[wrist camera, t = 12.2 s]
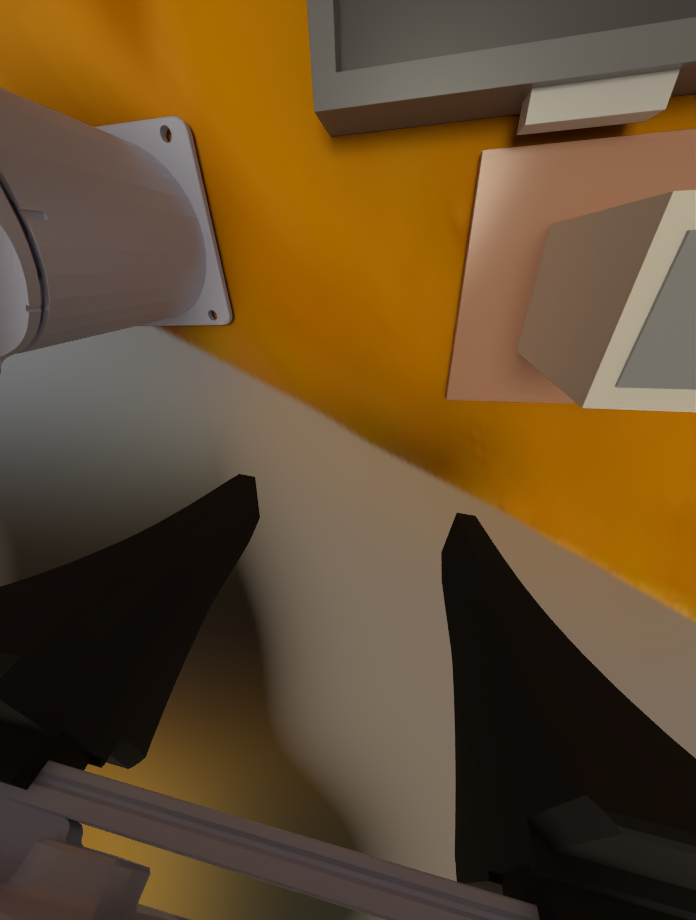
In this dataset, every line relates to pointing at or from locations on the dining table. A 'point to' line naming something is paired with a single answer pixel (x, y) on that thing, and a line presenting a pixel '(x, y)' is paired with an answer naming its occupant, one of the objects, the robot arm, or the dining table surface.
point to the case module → (619, 306)
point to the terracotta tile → (541, 243)
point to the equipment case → (498, 61)
